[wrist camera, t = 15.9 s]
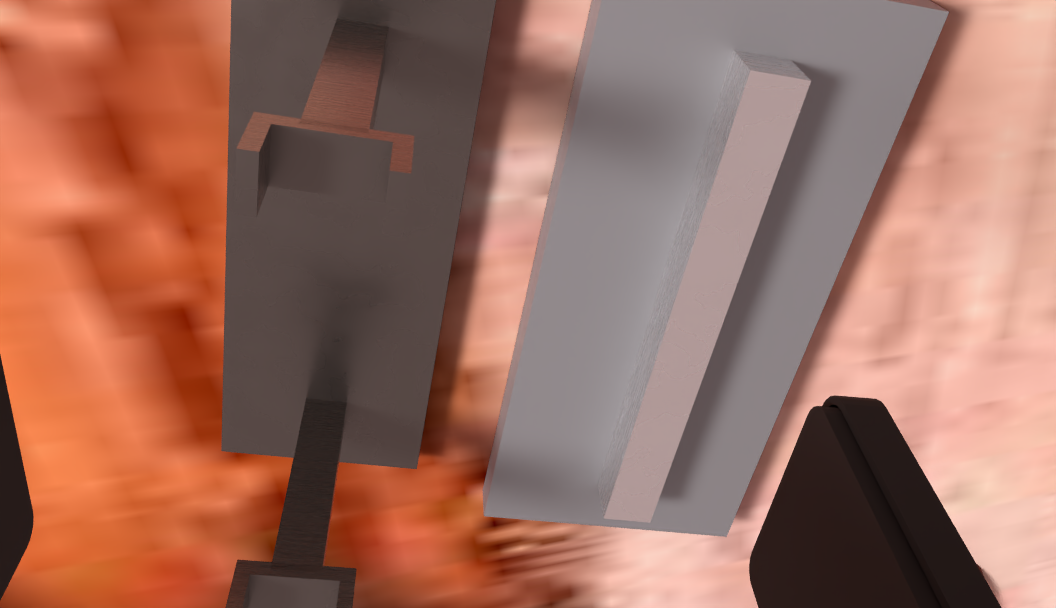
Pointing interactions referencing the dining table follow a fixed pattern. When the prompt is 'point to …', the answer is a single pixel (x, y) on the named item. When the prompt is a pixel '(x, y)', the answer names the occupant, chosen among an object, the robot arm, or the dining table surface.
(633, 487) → the rail
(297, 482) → the rack
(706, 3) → the board
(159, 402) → the dining table surface
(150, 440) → the dining table surface
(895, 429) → the robot arm
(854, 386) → the dining table surface
